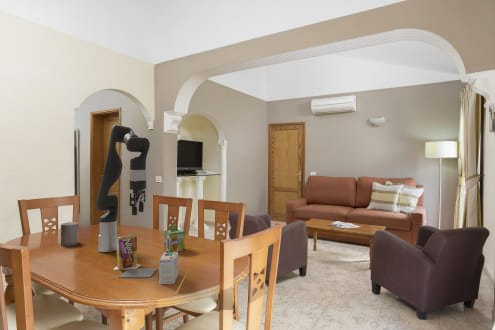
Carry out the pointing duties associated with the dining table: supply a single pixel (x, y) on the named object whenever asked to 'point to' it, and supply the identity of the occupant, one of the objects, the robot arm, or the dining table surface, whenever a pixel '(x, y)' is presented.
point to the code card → (128, 268)
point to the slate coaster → (138, 273)
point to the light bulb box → (168, 268)
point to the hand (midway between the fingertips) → (137, 213)
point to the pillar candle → (69, 233)
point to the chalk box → (174, 240)
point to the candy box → (126, 251)
